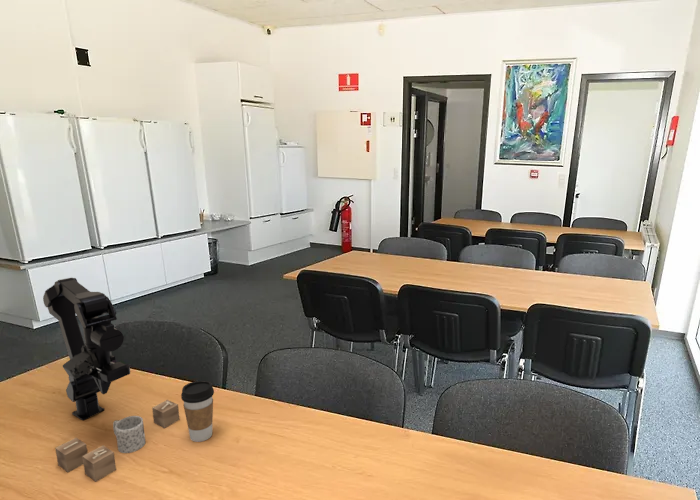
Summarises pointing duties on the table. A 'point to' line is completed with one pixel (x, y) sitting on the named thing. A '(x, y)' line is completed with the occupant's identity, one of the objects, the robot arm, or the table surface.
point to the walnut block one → (71, 454)
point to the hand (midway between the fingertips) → (104, 393)
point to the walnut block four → (99, 463)
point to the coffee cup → (198, 409)
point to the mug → (129, 434)
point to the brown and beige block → (165, 413)
